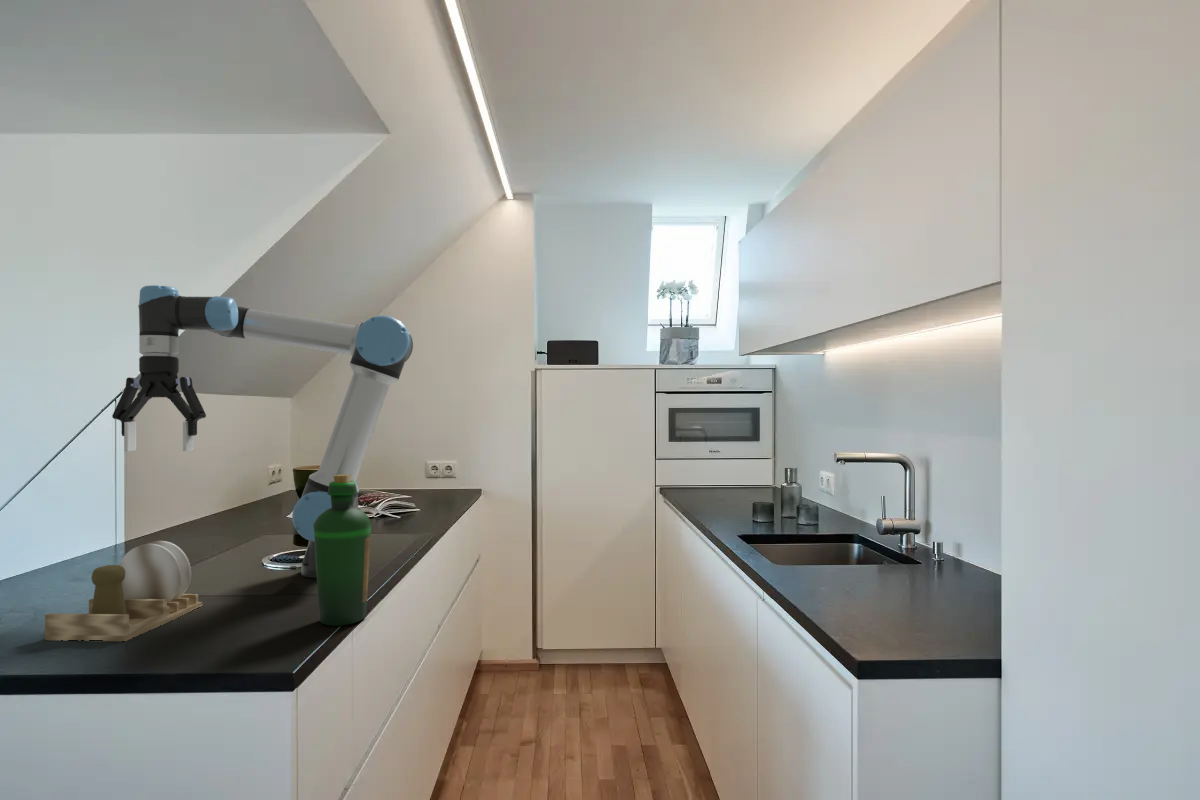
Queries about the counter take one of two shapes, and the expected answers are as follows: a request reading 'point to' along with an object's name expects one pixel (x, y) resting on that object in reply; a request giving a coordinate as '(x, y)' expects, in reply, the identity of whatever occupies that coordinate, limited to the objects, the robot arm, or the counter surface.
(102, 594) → the cork
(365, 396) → the robot arm
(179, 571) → the rack
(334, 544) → the bottle
